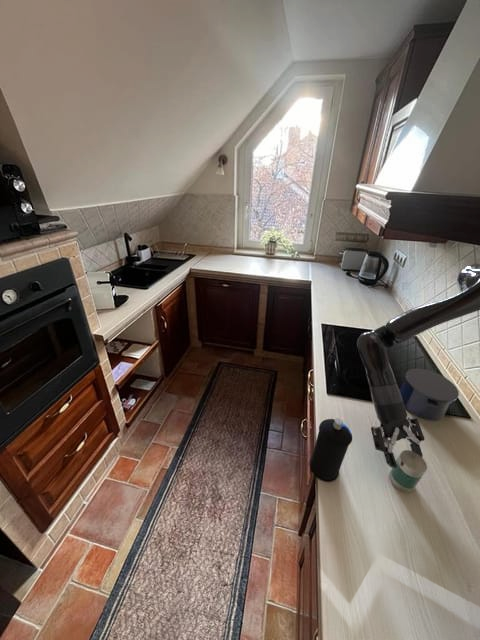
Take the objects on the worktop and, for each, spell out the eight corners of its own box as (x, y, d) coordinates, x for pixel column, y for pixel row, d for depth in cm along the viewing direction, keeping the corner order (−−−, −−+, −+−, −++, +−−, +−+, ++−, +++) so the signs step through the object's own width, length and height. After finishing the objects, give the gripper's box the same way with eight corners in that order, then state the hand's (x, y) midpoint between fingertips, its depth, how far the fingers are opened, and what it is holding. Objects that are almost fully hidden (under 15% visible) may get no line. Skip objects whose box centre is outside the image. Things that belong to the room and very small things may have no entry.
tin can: (412, 476, 72) (425, 456, 67) (414, 497, 67) (428, 477, 62) (388, 466, 74) (399, 446, 69) (389, 486, 69) (400, 466, 64)
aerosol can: (327, 488, 68) (345, 442, 58) (303, 465, 74) (315, 419, 64) (344, 469, 73) (362, 423, 63) (320, 448, 78) (333, 403, 68)
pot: (441, 394, 99) (452, 374, 94) (450, 431, 85) (465, 410, 80) (395, 381, 105) (404, 362, 100) (397, 413, 91) (407, 392, 85)
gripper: (376, 406, 67) (395, 474, 63) (418, 396, 70) (439, 460, 66) (357, 405, 74) (374, 466, 70) (397, 396, 77) (415, 453, 73)
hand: (406, 463), depth 68 cm, fingers open, 8 cm apart
